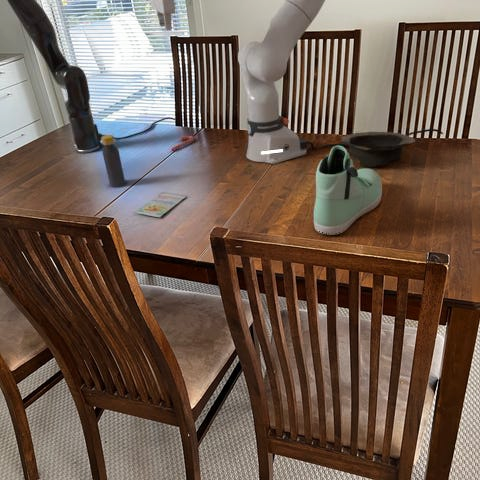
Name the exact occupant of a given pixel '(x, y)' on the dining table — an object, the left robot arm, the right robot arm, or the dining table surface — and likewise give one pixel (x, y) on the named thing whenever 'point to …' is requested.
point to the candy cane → (183, 142)
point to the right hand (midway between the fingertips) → (165, 27)
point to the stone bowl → (376, 147)
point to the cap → (107, 139)
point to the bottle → (113, 166)
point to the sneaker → (343, 192)
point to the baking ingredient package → (160, 205)
